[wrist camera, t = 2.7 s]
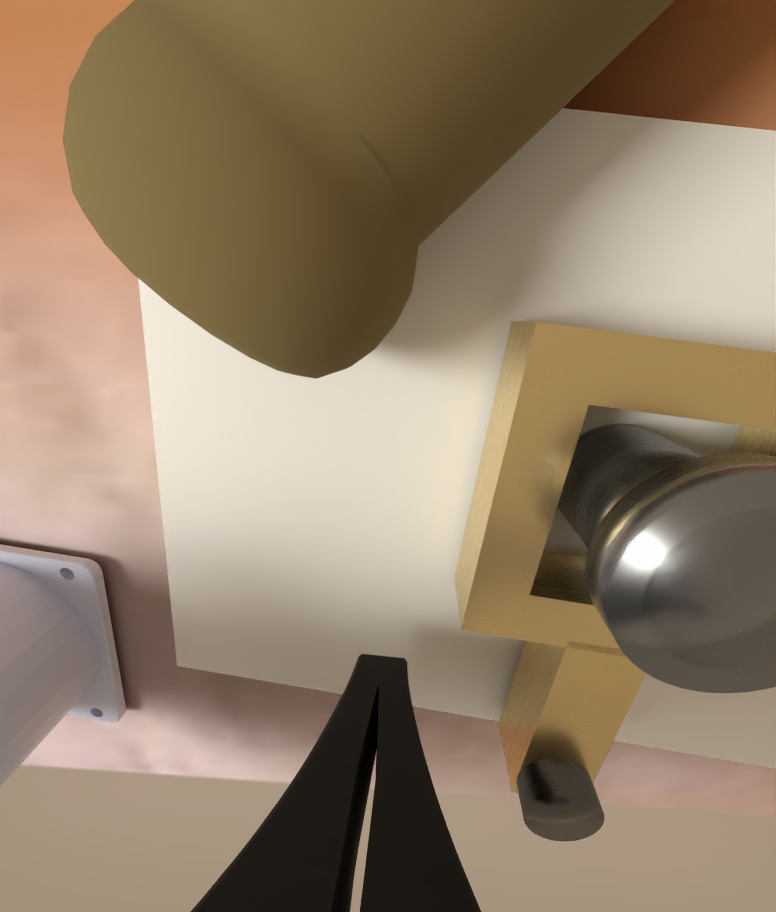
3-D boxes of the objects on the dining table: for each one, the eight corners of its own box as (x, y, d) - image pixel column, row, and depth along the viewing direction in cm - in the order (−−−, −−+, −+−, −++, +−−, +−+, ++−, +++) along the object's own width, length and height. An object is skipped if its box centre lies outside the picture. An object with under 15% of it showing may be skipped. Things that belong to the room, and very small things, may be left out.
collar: (511, 320, 8) (551, 322, 6) (834, 363, 8) (1029, 384, 6) (423, 715, 13) (423, 816, 10) (631, 751, 13) (686, 865, 10)
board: (192, 643, 15) (176, 665, 14) (149, 88, 9) (116, 60, 8) (776, 742, 14) (802, 773, 13) (1168, 198, 8) (1267, 182, 7)
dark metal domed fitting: (463, 719, 13) (482, 903, 9) (560, 370, 9) (679, 415, 5) (805, 778, 13) (990, 1000, 9) (1076, 439, 9) (1699, 554, 4)
